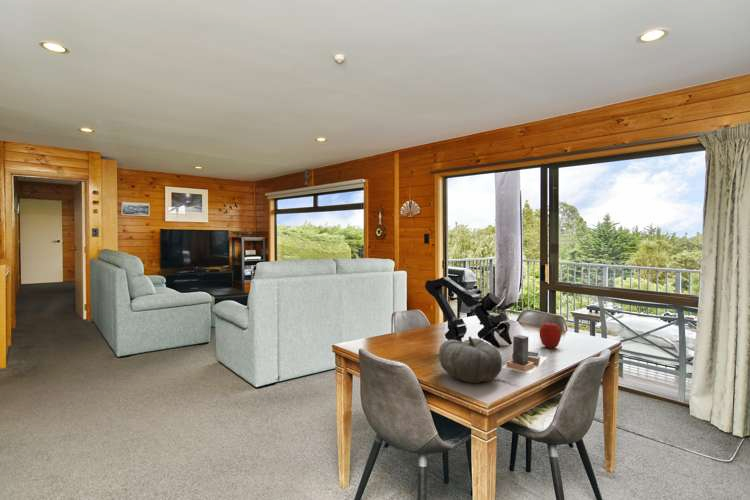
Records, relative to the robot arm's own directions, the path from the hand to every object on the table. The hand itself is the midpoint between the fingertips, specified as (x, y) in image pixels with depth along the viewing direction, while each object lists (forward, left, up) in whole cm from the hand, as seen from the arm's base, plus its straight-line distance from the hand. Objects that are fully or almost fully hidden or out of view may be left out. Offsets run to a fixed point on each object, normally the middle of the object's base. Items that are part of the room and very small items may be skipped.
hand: (505, 346), depth 173 cm
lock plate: (+9, -3, -8) cm, 12 cm away
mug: (+18, +26, -9) cm, 33 cm away
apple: (+40, +15, -9) cm, 44 cm away
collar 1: (+2, -7, -7) cm, 10 cm away
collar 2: (+15, +2, -7) cm, 17 cm away
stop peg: (+2, -7, -7) cm, 10 cm away
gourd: (-24, -8, -9) cm, 26 cm away
